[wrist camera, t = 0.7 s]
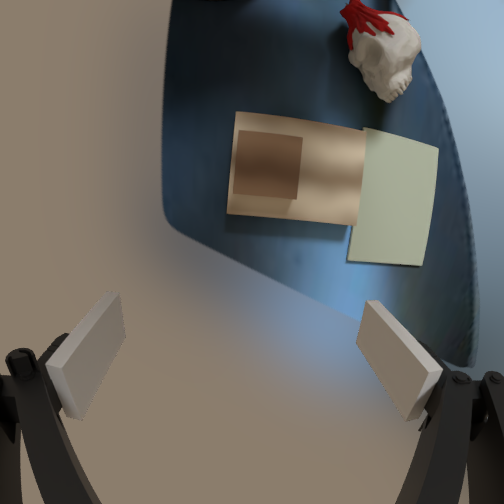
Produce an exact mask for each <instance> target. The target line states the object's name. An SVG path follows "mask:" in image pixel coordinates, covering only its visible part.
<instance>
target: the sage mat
mask: <svg viewBox="0 0 504 504" xmlns="http://www.w3.org/2000/svg"><path fill="white" fill-rule="evenodd" d="M362 131H365V132H367V134H366V147H365V159H364V169H363V179H362V187H361V196H360V204H359V211H358V218H357V225H356V226H352V229H351V236H350V242H349V248H348V254H347V260H350V261H364V262H378V263H392V264H405V265H420V266H422V263H423V258H424V254H425V249H426V244H427V238H428V233H429V227H430V221H431V215H432V208H433V201H434V193H435V185H436V175H437V163H438V149H439V148H436V147H433V146H430V145H427V144H424V143H421V142H417V141H414V140H411V139H407V138H404V137H401V136H397V135H393V134H390V133H386V132H382V131H378V130H374V129H370V128H366V127H363V129H362Z"/></svg>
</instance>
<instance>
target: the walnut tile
mask: <svg viewBox="0 0 504 504" xmlns="http://www.w3.org/2000/svg"><path fill="white" fill-rule="evenodd" d="M302 143H303V137H297V136H290V135H282V134H274V133H265V132H256V131H245V130H239V132H238V141H237V152H236V162H235V173H234V184H233V194H242V195H254V196H265V197H275V198H285V199H294V200H297V192H298V183H299V173H300V164H301V153H302Z"/></svg>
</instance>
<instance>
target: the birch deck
mask: <svg viewBox="0 0 504 504" xmlns="http://www.w3.org/2000/svg"><path fill="white" fill-rule="evenodd" d="M239 130H245V131H256V132H265V133H274V134H282V135H290V136H297V137H303V143H302V153H301V164H300V173H299V183H298V192H297V200H294V199H285V198H275V197H265V196H254V195H242V194H233V184H234V173H235V162H236V152H237V141H238V132H239ZM366 134H367V132H365V131H361V130H357V129H352V128H347V127H342V126H337V125H332V124H327V123H322V122H316V121H310V120H304V119H297V118H290V117H283V116H276V115H267V114H258V113H249V112H237V111H236V117H235V127H234V137H233V147H232V158H231V168H230V180H229V191H228V203H227V214H236V215H248V216H260V217H271V218H282V219H293V220H303V221H313V222H323V223H332V224H341V225H350V226H356V225H357V218H358V211H359V204H360V196H361V187H362V179H363V169H364V159H365V147H366Z"/></svg>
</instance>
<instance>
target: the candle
mask: <svg viewBox="0 0 504 504" xmlns="http://www.w3.org/2000/svg"><path fill="white" fill-rule="evenodd" d="M340 14H341V15H342V17H344V18H345V19H346V21H347V23H348V26H349V31H348V35H347V42H348V45H349V49H350V52H349V54H348V58H349V61H350V63H351V64H353V65H354V66H355V67H358V68H359V70H360V72H361V73H362V75H363V80H364V82H365V83H366V84H367V86H368V87H369V89H370V90H371V91H375V92H376V93H377V95H378V97H379V98H380V99H382V100H384V101H385V102H387V103H391V100H395V97H398V93H399V94H400V95H402V94H403V92H402V90H403V91H405V90H406V87H407V86H408V85H409V83H410V82H411V80H412V77H411V65H412V63H413V61H414V59H415V57H416V55H417V54H418V53H419V52H420V50H421V41H420V36H419V34H418V33H417V31H416V30H415V29H414V28H413V27H412V26H411V25H410V23H409V22H408V21H407V20H408V19H406V18H405V17H404V16H402V15H400V14H397V13H394V12H383V11H378V10H374V9H371V8H369V7H367V6H365V5H364V4H362V3H361V1H360V0H350V1H349V5H348V4H347V3H346V6H345V8H344V9H342V10H341V11H340ZM397 92H398V93H397ZM394 96H395V97H394Z"/></svg>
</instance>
